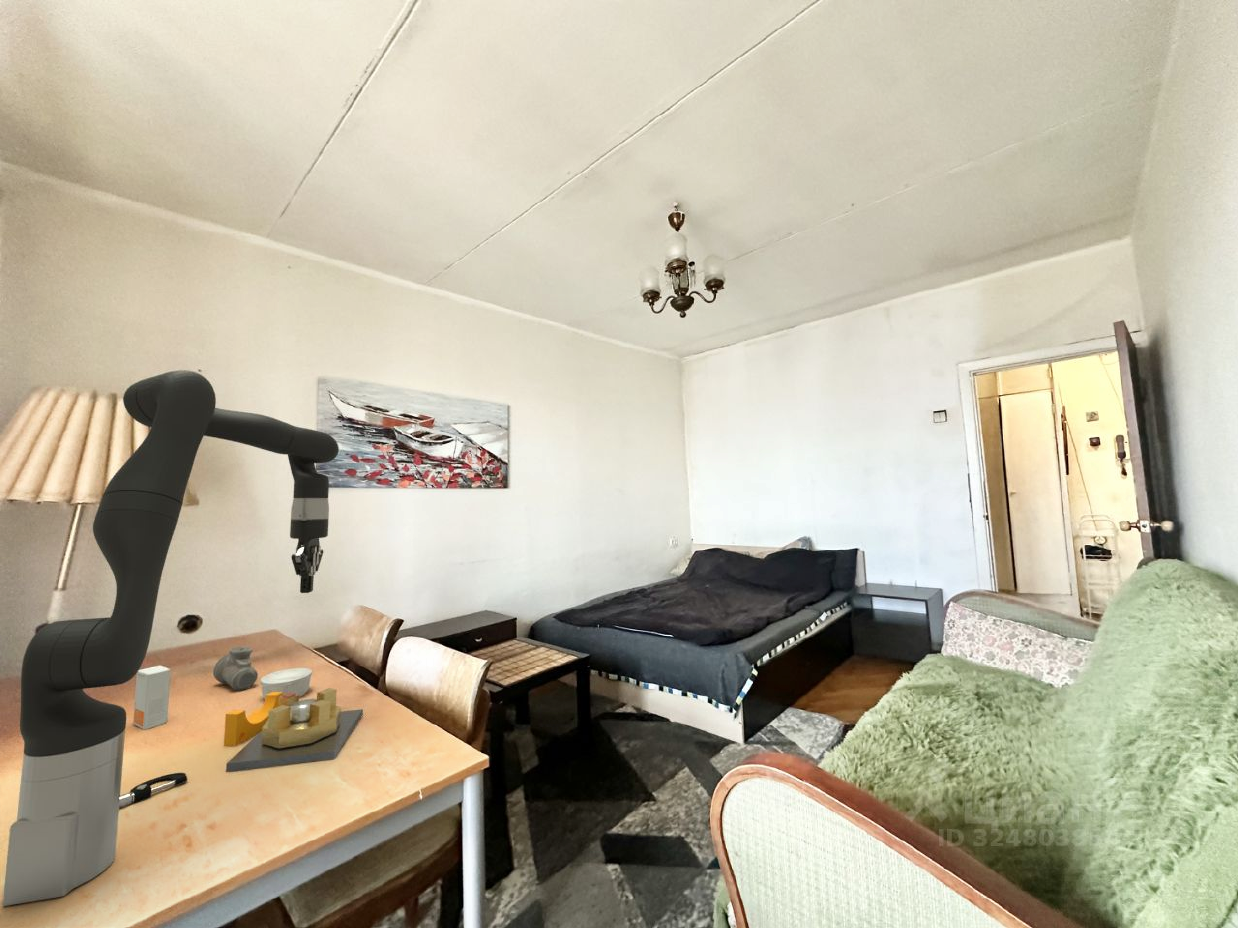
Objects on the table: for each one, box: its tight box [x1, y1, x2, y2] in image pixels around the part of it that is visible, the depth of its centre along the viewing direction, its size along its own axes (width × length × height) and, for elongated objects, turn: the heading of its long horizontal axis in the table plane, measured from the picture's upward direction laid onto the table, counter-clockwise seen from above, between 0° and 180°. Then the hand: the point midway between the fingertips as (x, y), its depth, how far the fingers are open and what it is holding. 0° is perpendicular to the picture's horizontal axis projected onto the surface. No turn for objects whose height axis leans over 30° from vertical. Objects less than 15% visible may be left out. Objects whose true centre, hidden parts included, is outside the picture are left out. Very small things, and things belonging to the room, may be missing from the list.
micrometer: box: [119, 772, 188, 810], centre depth 81 cm, size 15×7×2 cm, turn 146°
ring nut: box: [262, 687, 342, 748], centre depth 101 cm, size 13×13×7 cm
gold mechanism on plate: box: [225, 698, 364, 773], centre depth 101 cm, size 20×18×8 cm
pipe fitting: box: [212, 645, 259, 691], centre depth 132 cm, size 12×8×10 cm
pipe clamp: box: [223, 692, 283, 747], centre depth 105 cm, size 12×4×6 cm, turn 175°
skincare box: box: [132, 665, 172, 730], centre depth 110 cm, size 6×4×12 cm
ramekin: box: [260, 667, 313, 700], centre depth 125 cm, size 11×11×5 cm
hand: (306, 592), depth 112 cm, fingers closed
